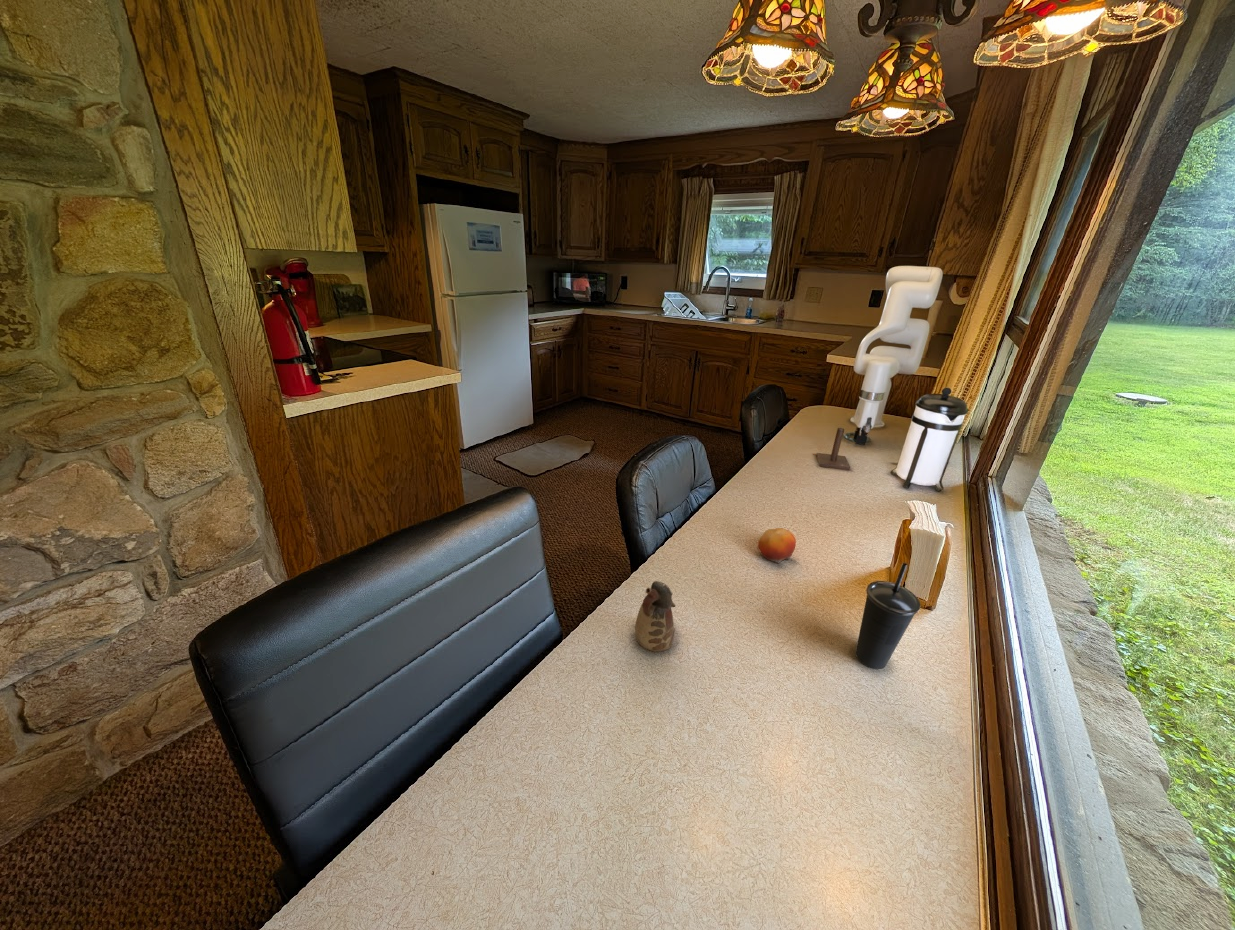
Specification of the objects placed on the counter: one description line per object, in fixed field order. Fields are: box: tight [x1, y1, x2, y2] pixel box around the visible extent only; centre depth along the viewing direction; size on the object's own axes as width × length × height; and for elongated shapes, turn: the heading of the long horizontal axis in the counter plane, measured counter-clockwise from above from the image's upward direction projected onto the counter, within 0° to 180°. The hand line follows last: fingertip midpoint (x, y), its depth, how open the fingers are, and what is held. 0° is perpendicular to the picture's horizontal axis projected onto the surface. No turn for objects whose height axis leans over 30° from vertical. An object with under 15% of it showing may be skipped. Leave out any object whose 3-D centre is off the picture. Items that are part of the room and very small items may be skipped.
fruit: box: [757, 527, 797, 564], centre depth 104 cm, size 8×8×8 cm
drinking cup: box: [855, 562, 921, 670], centre depth 75 cm, size 8×8×20 cm
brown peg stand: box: [816, 427, 851, 471], centre depth 151 cm, size 9×9×12 cm
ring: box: [842, 432, 872, 444], centre depth 172 cm, size 9×9×2 cm
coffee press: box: [889, 387, 970, 493], centre depth 137 cm, size 17×16×30 cm
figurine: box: [634, 580, 677, 653], centre depth 80 cm, size 7×7×12 cm
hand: (858, 442), depth 169 cm, fingers open, 3 cm apart
